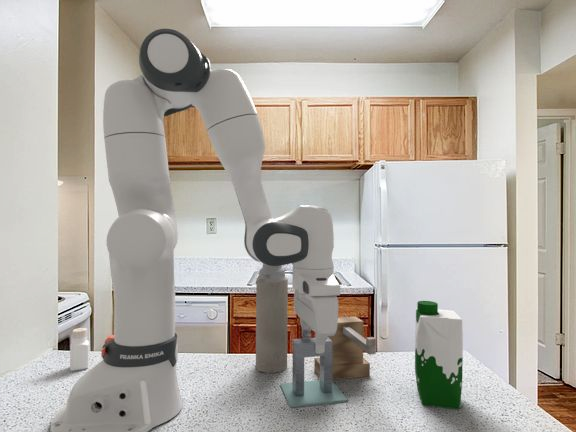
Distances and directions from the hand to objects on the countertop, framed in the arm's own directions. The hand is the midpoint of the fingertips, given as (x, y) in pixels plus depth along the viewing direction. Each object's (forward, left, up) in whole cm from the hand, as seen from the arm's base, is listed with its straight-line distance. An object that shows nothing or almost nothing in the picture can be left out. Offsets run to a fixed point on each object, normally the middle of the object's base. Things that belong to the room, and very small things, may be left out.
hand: (312, 344), depth 79 cm
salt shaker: (-53, +25, -11) cm, 60 cm away
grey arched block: (0, 0, -10) cm, 10 cm away
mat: (0, 0, -10) cm, 10 cm away
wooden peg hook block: (+10, +2, -10) cm, 15 cm away
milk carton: (+25, -8, -11) cm, 28 cm away
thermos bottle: (-6, +16, -11) cm, 20 cm away
